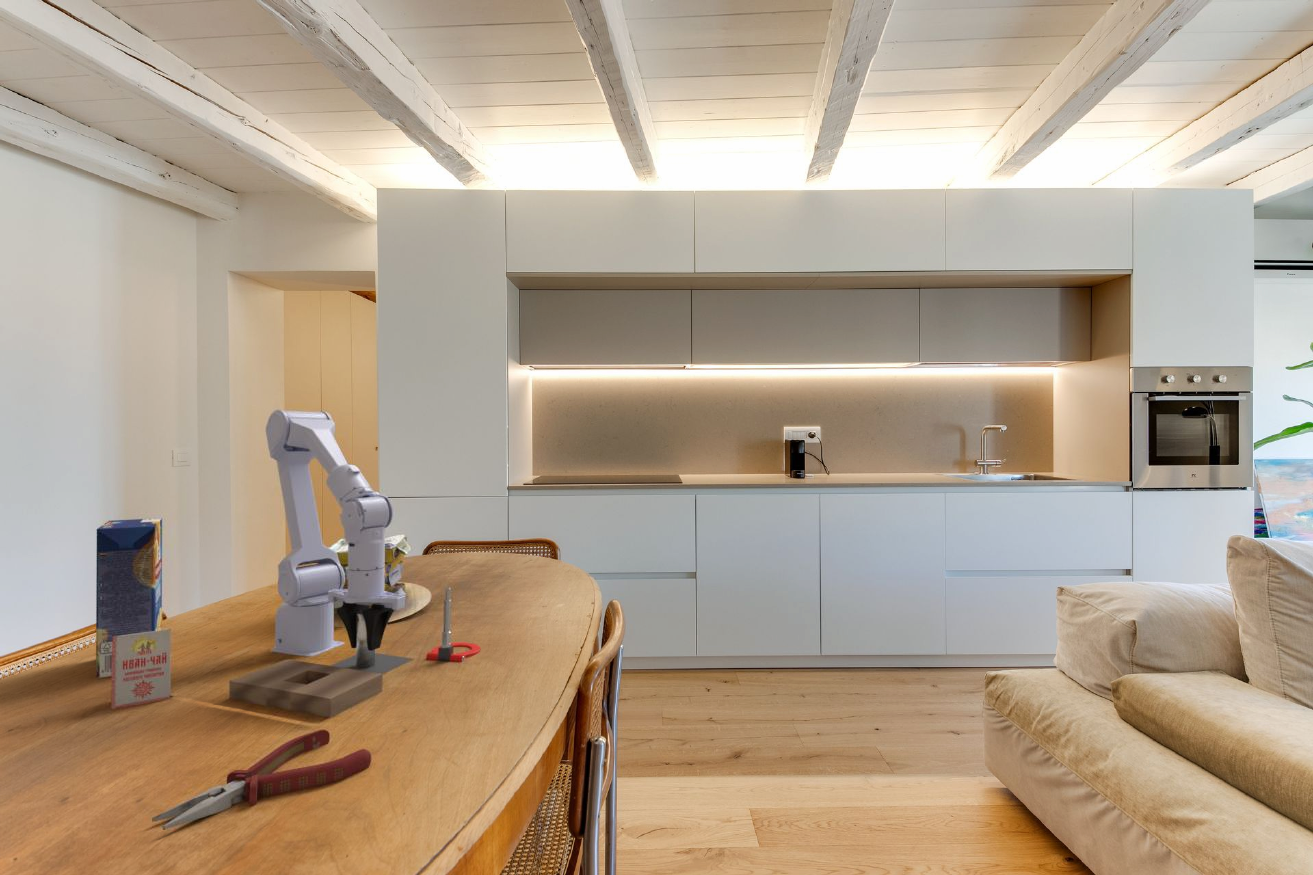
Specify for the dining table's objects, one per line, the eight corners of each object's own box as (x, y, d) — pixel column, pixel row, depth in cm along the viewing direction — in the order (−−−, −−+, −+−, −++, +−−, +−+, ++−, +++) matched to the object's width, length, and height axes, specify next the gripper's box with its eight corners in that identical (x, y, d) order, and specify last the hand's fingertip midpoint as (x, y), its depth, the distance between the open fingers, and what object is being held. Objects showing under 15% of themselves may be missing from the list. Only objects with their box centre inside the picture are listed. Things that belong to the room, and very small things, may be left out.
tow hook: (445, 647, 124) (420, 661, 115) (447, 578, 124) (423, 587, 115) (487, 650, 123) (466, 665, 113) (489, 580, 123) (468, 589, 114)
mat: (314, 674, 108) (314, 672, 108) (363, 653, 118) (363, 651, 118) (367, 683, 105) (367, 680, 105) (414, 660, 115) (414, 658, 115)
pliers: (135, 816, 69) (135, 791, 69) (324, 743, 85) (324, 723, 85) (180, 857, 62) (181, 830, 62) (375, 769, 79) (375, 748, 79)
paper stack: (389, 631, 132) (390, 548, 132) (281, 623, 137) (282, 543, 137) (450, 601, 156) (451, 531, 156) (357, 595, 161) (357, 527, 161)
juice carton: (154, 669, 110) (154, 526, 109) (95, 678, 106) (96, 529, 105) (161, 649, 120) (162, 517, 120) (108, 656, 116) (109, 520, 116)
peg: (351, 667, 111) (352, 613, 110) (365, 661, 113) (365, 609, 113) (366, 669, 110) (366, 615, 110) (379, 663, 112) (379, 610, 112)
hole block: (229, 701, 97) (229, 680, 97) (287, 677, 107) (287, 659, 107) (330, 720, 91) (330, 698, 91) (382, 693, 101) (382, 673, 101)
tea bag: (113, 701, 97) (113, 633, 97) (170, 690, 101) (170, 625, 101) (111, 709, 94) (111, 639, 94) (170, 698, 98) (170, 631, 98)
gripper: (313, 568, 110) (313, 649, 110) (384, 575, 105) (383, 660, 105) (346, 561, 117) (345, 637, 117) (413, 567, 112) (413, 646, 112)
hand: (365, 647), depth 111 cm, fingers closed on peg, 3 cm apart
